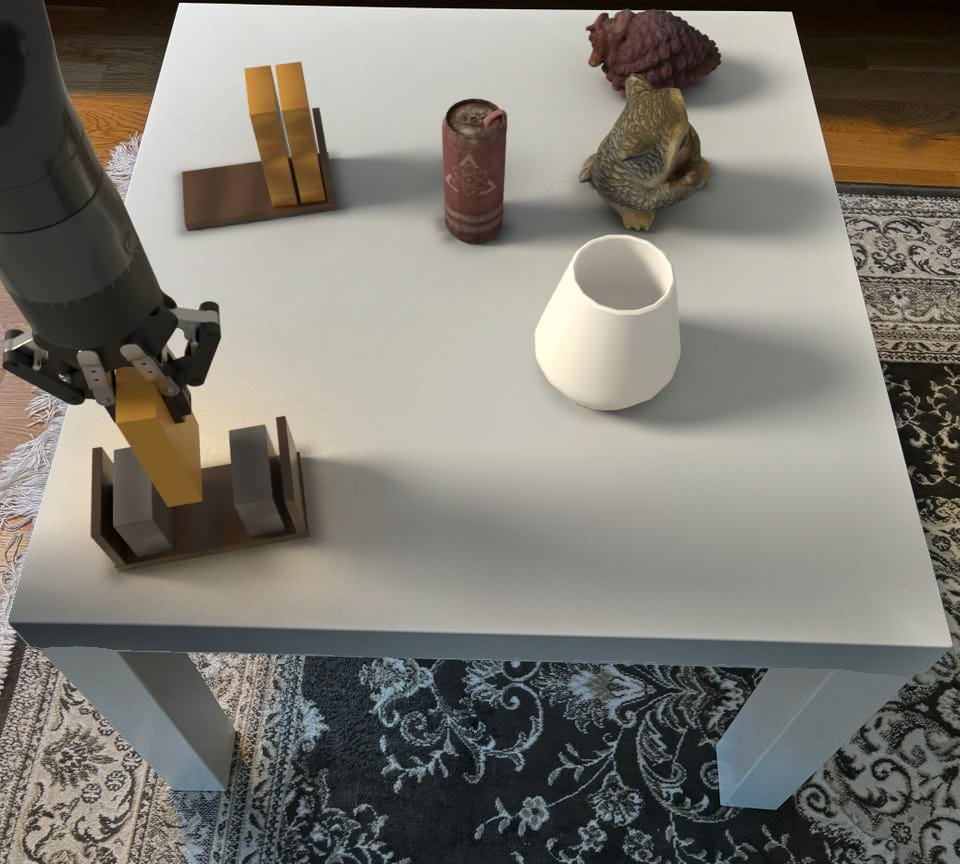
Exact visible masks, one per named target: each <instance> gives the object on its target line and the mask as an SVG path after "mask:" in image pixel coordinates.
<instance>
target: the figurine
mask: <svg viewBox="0 0 960 864" xmlns="http://www.w3.org/2000/svg"><path fill="white" fill-rule="evenodd" d="M625 92H626V97H627V98H626V104H625V106H624V109H623V110H622V111H621V113H620V115H619V116H618V118H617V119H616V121H615V123H614V124H613V126H612V128H611V130H610V131H609V133H608V134H606V136H605V137H604V138H603V140H602V141H601V142H600V143H599V146H598V148H597V150H596V152H595V153H593V154H591V155H589V156H588V158H587V159H586V160H585V161H584V163H583V165H582V169H581V171H580V173H579V174H578V181H579V183H580V184H585V183H591V184H593V185H594V186H595V188H596V189H597V193H598V195H599V196H600V198H601V199H602V200H603V201H604V202H606V203H607V204H608V206H610V207H611V208H613V210H615V211H616V212H617V214H618V215H620V217H621V219H622V223H623V226H624V227H625V228H626V229H627V230H630V229H634V230H636V231H637V232H639V231H640V229H643V230H645V231H649V229H651V227H652V224H653V221H654V218H655V215H656V213H659V212H663V211H664V210H666V209H668V208H670V207H672V206H675V205H678V204H680V203H683V202H684V201H686V200H688V199H689V198H691V197H692V196H694V195H695V194H696V193H697V192H699V191H700V190H701V189H702V188H703V187H704V186H705V184H707V182H708V180H709V175H710V172H711V171H710V170H711V169H710V165H709V162H708V161H707V160H706V159H705V158H704V157H703V156H702V152H701V150H702V149H701V146H702V145H701V139H700V136H699V134H698V132H697V131H696V129H695V127H694V126H693V125H692V124H691V123H690V122H689V116H688V111H687V107H686V102H685V98H684V96H683V94H682V91H681V88H680V89H677V88H662V89H655V88H654V87H653V86H652V84H651V83H650V82H649V81H648V80H647V79H645V78H644V77H642V76H641V75H639V74H631V75H630V76H629V77H628V79H627V81H626V86H625Z"/></svg>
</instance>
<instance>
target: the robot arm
mask: <svg viewBox="0 0 960 864" xmlns="http://www.w3.org/2000/svg"><path fill="white" fill-rule="evenodd" d="M45 5H46V4H45V2H44V0H0V283H1V284H2V286H3V287H4V289H5V290H6V292H7V293H8V295H9V296H10V298H11V299H12V301H13V302H14V304H15V306H16V307H17V309H18V311H20V313H21V314H22V316H23V317H24V319H25V321H26V322H27V324H28V325H29V326H30V328H31V329H28V330H27V331H23V330H22V329H17V328H12V329H7V330H6V331H5V332H4V339H3V340H4V341H3V344H2V345H3V347H2V363H1V367H2V369H3V370H5V371H7V372H9V373H11V374H12V375H14V376H16V377H17V378H19V379H21V380H23V381H25V382H27V383H29V384H31V385H32V386H34V387H36V388H38V389H40V390H42V391H44V392H45V393H47V394H49V395H50V396H53V397H55V398H57V399H58V400H60V401H62V402H64V403H66V404H68V405H70V406H71V405H72V406H80V405H82V404H84V403H85V401H86V400H93V401H95V402H96V404H97V405H99V406H102V407H104V408H105V411H106V412H107V414H108V415H109V417H110V418H111V420H112V421H113V423H114V424H116V369H119V368H122V367H136V369H137V370H138V371H139V372H140V374H141V375H142V376H143V377H144V378H145V380H146V381H147V382H153V384H154V385H155V386H156V387H157V389H158V390H159V391H160V392H161V393H162V399H163V401H164V403H165V405H166V407H167V409H168V411H169V413H170V414H171V416H172V418H173V420H174V422H175V424H178V423H185V422H186V415H191V412H193V408H192V407H193V406H192V405H193V404H192V393H191V391H190V388H189V387H192V388H194V387H196V388H197V387H200V386H203V385H204V384H205V382H206V379H207V377H208V373H209V371H210V368H211V366H212V363H213V360H214V359H215V355H216V352H217V351H218V347H219V344H220V342H221V339H222V327H221V313H220V312H221V311H220V305H219V304H218V303H217V302H215V301H212V300H207V301H203V302H201V304H200V305H199V307H198V309H193V308H188V307H187V308H186V307H179V306H178V304H177V302H176V300H175V299H174V298H173V297H171V296H169V295H168V294H167V293H165V292H164V290H163V289H162V288H161V286H160V284H159V281H158V279H157V276H156V274H155V272H154V270H153V267H152V265H151V263H150V260H149V258H148V256H147V254H146V251H145V248H144V246H143V244H142V242H141V240H140V239H141V238H140V237H139V235H138V232H137V230H136V228H135V226H134V224H133V221H132V218H131V216H130V214H129V212H128V210H127V208H126V205H125V203H124V201H123V198H122V196H121V194H120V192H119V190H118V188H117V187H116V184H115V183H114V182H113V180H112V179H111V177H110V176H109V174H108V173H107V171H106V169H105V167H104V166H103V164H102V162H101V160H100V158H99V157H98V154H97V152H96V150H95V147H94V145H93V142H92V141H91V139H90V136H89V134H88V132H87V128H86V127H85V125H84V122H83V121H82V118H81V116H80V113H79V111H78V109H77V107H76V105H75V103H74V101H73V99H72V97H71V96H70V93H69V92H68V89H67V87H66V85H65V82H64V78H63V74H62V71H61V68H60V63H59V58H58V53H57V50H56V45H55V41H54V36H53V33H52V29H51V25H50V20H49V16H48V12H47V9H46V6H45ZM176 329H180V330H181V331H182V332H183V337H184V339H185V340H186V341H187V343H186V346H185V349H184V352H183V355H182V356H180V357H176V356H175V354H174V353H173V351H172V350H171V349H170V347H169V346H168V342H169V341H170V339H171V338H172V336H173V335H174V333H175V332H176ZM61 376H62V377H64V378H65V380H64V379H62V378H61ZM188 386H189V387H188Z"/></svg>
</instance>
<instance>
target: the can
mask: <svg viewBox="0 0 960 864" xmlns="http://www.w3.org/2000/svg"><path fill="white" fill-rule="evenodd" d="M507 133H508V113H507V112H506V110H504V109H502V108H500V107H499V106H498V105H497V104H495V103H493V102H492V101H490V100H487V99H483V98H467V99H462V100H460V101H457V102H455V103H453V104H452V105H451V106H450V107H449V108H448V109H447V111H446V112H445V116H444V118H443V119H442V124H441V141H442V142H441V143H442V145H441V146H442V169H443V170H442V171H443V172H442V173H443V175H442V176H443V177H442V178H443V197H444V198H443V202H444V203H443V205H444V207H443V208H444V224H445V228H446V229H447V231H448V232H449V233H450V235H451V236H452V237H454V238H455V239H457V240H458V241H460V242H463V243H465V244H473V245H475V244H476V245H477V244H482V243H483V244H484V243H485V242H488V241H490V240H491V239H493V238H494V237H495V236H496V235H498V233H499V232H500V230H501V229H502V227H503V220H504V200H505V199H504V198H505V178H506V177H505V176H506V175H505V174H506V156H507V155H506V152H507Z"/></svg>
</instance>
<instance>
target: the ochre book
mask: <svg viewBox="0 0 960 864" xmlns="http://www.w3.org/2000/svg"><path fill="white" fill-rule="evenodd" d="M115 425H116V426H117V428H118V429H119V431H120V433H121V434H122V436H123V437H124V439H125V441H126V442H127V444H128V446H129V447H131V449H132V450H133V452H134V453H135V455H136V457H137V458H138V460H139V461H140V463H141V465H142V466H143V468H144V469H145V471H146V473H147V474H148V476H149V477H150V479H151V481H152V482H153V484H154V485H155V487H156V489H157V490H158V492H159V493H160V495H161V497H162V498H163V500H164V501H165V503H166V505H167V506H168V507H172V506H178V505H184V504H189V503H195V502H201V501H203V499H202V479H201V468H202V463H201V461H202V460H201V442H200V441H201V440H200V439H201V438H200V424H199V422H198V420H197V418H196V416H195V414H194V412H193V411H192V412H191V415H186V422H185V423H178V424H175V422H174V420H173V418H172V416H171V414H170V413H169V411H168V409H167V407H166V405H165V403H164V401H163V399H162V393H161V392H160V391H159V390H158V389H157V387H156V386H155V385H154V384H153V382H147V381H146V380H145V378H144V377H143V376H142V375H141V374H140V372H139V371H138V370H137V369H136V367H122V368H119V369H116V423H115Z"/></svg>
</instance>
